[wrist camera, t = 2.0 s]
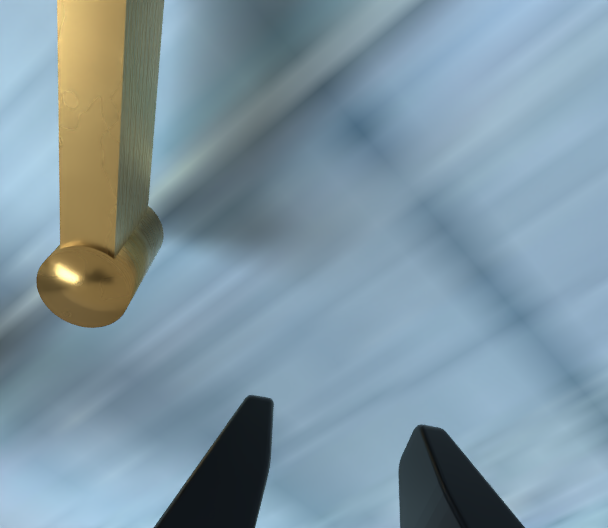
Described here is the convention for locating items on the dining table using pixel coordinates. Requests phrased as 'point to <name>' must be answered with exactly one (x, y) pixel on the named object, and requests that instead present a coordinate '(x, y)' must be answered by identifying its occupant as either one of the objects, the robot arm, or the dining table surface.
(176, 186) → the dining table surface
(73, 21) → the gold bone
